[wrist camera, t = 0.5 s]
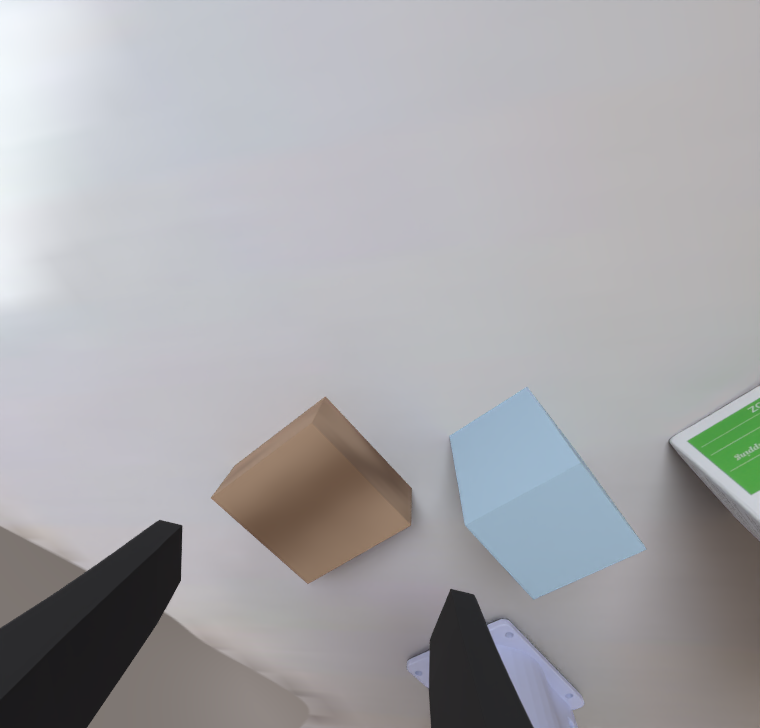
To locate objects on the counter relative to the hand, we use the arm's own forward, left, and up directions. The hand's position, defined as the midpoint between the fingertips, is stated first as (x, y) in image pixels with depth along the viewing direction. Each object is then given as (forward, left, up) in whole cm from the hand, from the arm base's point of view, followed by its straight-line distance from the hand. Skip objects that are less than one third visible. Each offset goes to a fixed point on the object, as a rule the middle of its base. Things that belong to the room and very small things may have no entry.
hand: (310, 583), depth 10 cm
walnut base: (-2, +4, -10) cm, 11 cm away
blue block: (-6, -5, -10) cm, 13 cm away
